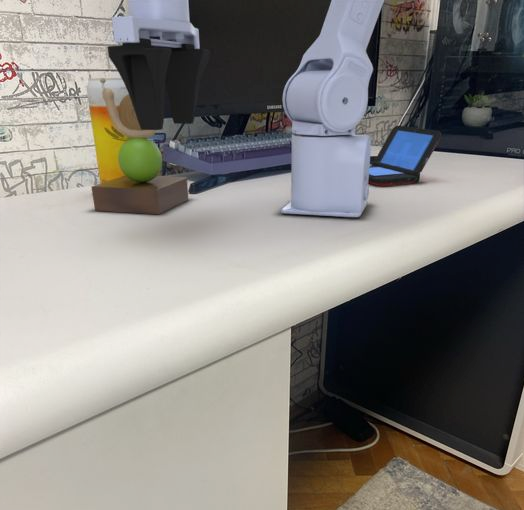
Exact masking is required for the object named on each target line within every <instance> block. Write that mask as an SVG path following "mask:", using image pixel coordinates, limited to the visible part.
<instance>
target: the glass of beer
mask: <svg viewBox="0 0 524 510" xmlns="http://www.w3.org/2000/svg"><path fill="white" fill-rule="evenodd" d="M100 78H101V77H88V79H87V80H88V81H87V84H86V95H87V102H88V109H89V115H90V122H91V129H92V136H93V143H94V150H95V155H96V157H95V158H96V162H97V170H98V176H99V184H101V183H104V182H107V181H110V180H114V179H117V178H120V177H123V176H126V175H125V174H124V173H123V172H122V170H121V168H120V166H119V162H118V154H119V150H120V148H121V146H122V145H123V144H124V143H125V142H126V141H127V140H129V139H131V138H129V137H127V136H125V135H123V134H121V133H120V132H119V131H118V130H117V129H116V128H115V126H114V124H113V122H112V120H111V118H110V115H109V112H108V110H107V106H106V103H105V100H104V99H103V94H102V92H103V89H104V88H105V89H106V88H108V89H111V90H112V91H113V92H114V102H115V105H116V108H117V110H119V105H120V102H121V100H122V99H123V98H124V97H125V96H126V95H128V94H129V93H128V91H127V88H126V86H125V84H124V82H123V80H122V78H121V77H104V78H105V80H106V82H105V83H104V85H103V88H102V83H101V82H100Z"/></svg>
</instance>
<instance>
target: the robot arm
mask: <svg viewBox="0 0 524 510" xmlns="http://www.w3.org/2000/svg"><path fill="white" fill-rule="evenodd" d="M126 1H127V2H126V3H127V10H128V15H126V16H112V17H111V25H112V32H113V33H112V34H113V41H114V43H115V44H121V45H108V46H107V55H108V58H109V59H110V61H111V63H112V64H113V65H114V67H115V70H117V72H118V74H119V76H120V78H122V80H123V82H124V84H125V86H126V88H127V91H128V93H129V96H130V99H131V102H132V104H133V107H134V111H135V114H136V117H137V120H138V122H139V125H140V128H141V130H157V131H160V130H161V131H162V130H163V127H164V121H165V88H166V93H167V97H168V99H167V100H168V103H169V105H168V106H169V109H170V114H171V118H172V121H173V123H174V125H192V124H194V122H195V117H196V110H197V102H198V95H199V89H200V85H201V81H202V77H203V74H204V71H205V69H206V66H207V64H208V62H209V61H210V60H209V59H210V50H209V49H207V48H206V49H204V48H200V32H199V28H197V27H195V26H194V25H193V24H192V22H190V21H191V20H190V8H189V0H126ZM384 3H385V0H331V1H330V5H329V7H328V10H327V12H326V16H325V19H324V22H323V25H322V26H321V27H322V28H321V31H320V34H319V36H318V37H317V38H316V39H315V41H314V42H313V43H312V44H311V45H310V46H309V48H307V50H306V51H305V53H304V54H303V55H302V58H301V61H300V64H299V66H298V68H297V70H296V71H295V72H294V73H293V74H292V75H291V76H290V77H289V78H288V80H287V81H286V84H285V85H284V88H283V93H282V107H283V111H284V113H285V115H286V117H287V118H288V119H289V120H290V122H291V133H292V134H291V165H290V166H291V168H290V169H291V173H290V182H291V183H290V201H289V203H287V204H286V205H285V206H284V207H283V208H281V210H280V211H281V214H287V215H288V214H289V215H304V216H305V215H306V216H307V215H308V216H322V217H323V216H324V217H341V218H343V217H344V218H360V217H361V215H363V212H364V210H365V209H366V207H367V205H368V200H369V194H370V185H369V183H368V180H369V167H370V165H371V153H372V152H371V151H372V149H371V148H372V142H371V141H372V139H371V135H368V134H356V126H358V124H359V123H360V122H361V120H363V118H364V116H365V114H366V112H367V111H366V110H367V108H368V102H369V84H370V80H371V77H372V74H373V72H374V67H373V63H372V62H371V59H370V58H369V56H368V53H367V49H368V45H369V43H370V40H371V37H372V34H373V32H374V29H375V26H376V23H377V21H378V18H379V17H380V12H381V10H382V7H383V5H384ZM150 37H151V38H150ZM153 37H154V38H153ZM155 37H157V38H158V37H159V39H157V38H155ZM165 47H166V48H165Z"/></svg>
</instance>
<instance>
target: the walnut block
mask: <svg viewBox="0 0 524 510" xmlns="http://www.w3.org/2000/svg"><path fill="white" fill-rule="evenodd" d="M91 194H92V200H93V208H94V211H95V212H113V213H125V214H127V213H128V214H143V215H157V216H159V215H161V214H163V213H165V212H167V211H169V210H171V209H173V208H175V207H177V206H179V205H181V204H183V203H185V202H187V201H189V189H188V178H187V177H186V176H184V177H183V176H162V175H161V176H159V175H157V176H156V177H155V178H154V179H152V180H151V181H148V182H136V181H133V180H131V179H129V178H128V177H127V176H123V177H120V178H117V179H114V180H110V181H107V182H104V183H101V184H100V183H98V184H96V185H92V186H91Z"/></svg>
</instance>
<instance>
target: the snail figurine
mask: <svg viewBox="0 0 524 510" xmlns="http://www.w3.org/2000/svg"><path fill="white" fill-rule="evenodd" d="M99 78H100V82H101V83H102V88H103V85H104V83H105V82H106V80H105V78H106V77H99ZM102 94H103V99H104V100H105V103H106V106H107V110H108V112H109V115H110V118H111V120H112V122H113V124H114V126H115V128H116V129H117V130H118V131H119V132H120V133H121V134H123V135H125V136H127V137H129V138H131V139H129V140H127V141H126V142H125V143H124V144H123V145H122V146H121V148H120V150H119V154H118V162H119V166H120V168H121V170H122V172H123V173H124V174H125V175H126V176H127V177H128V178H129V179H131V180H133V181H136V182H148V181H151V180H152V179H154V178H155V177H156V176H159V174H160V172H161V170H162V166H163V155H162V152H161V151H160V148H159V147H158V146H157V144H156V143H155V142H153V141H152V140H151V139H150V138H152V137H153V136H154V135H155V134H156V133H157V131H158V130H141V128H140V125H139V122H138V120H137V117H136V114H135V111H134V107H133V104H132V102H131V99H130V96H129V94H128V95H126V96H125V97H124V98H123V99H122V100H121V102H120V105H119V110H117V108H116V105H115V102H114V92H113V91H112V90H111V89H108V88H106V89H105V88H104V89H103V92H102Z"/></svg>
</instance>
